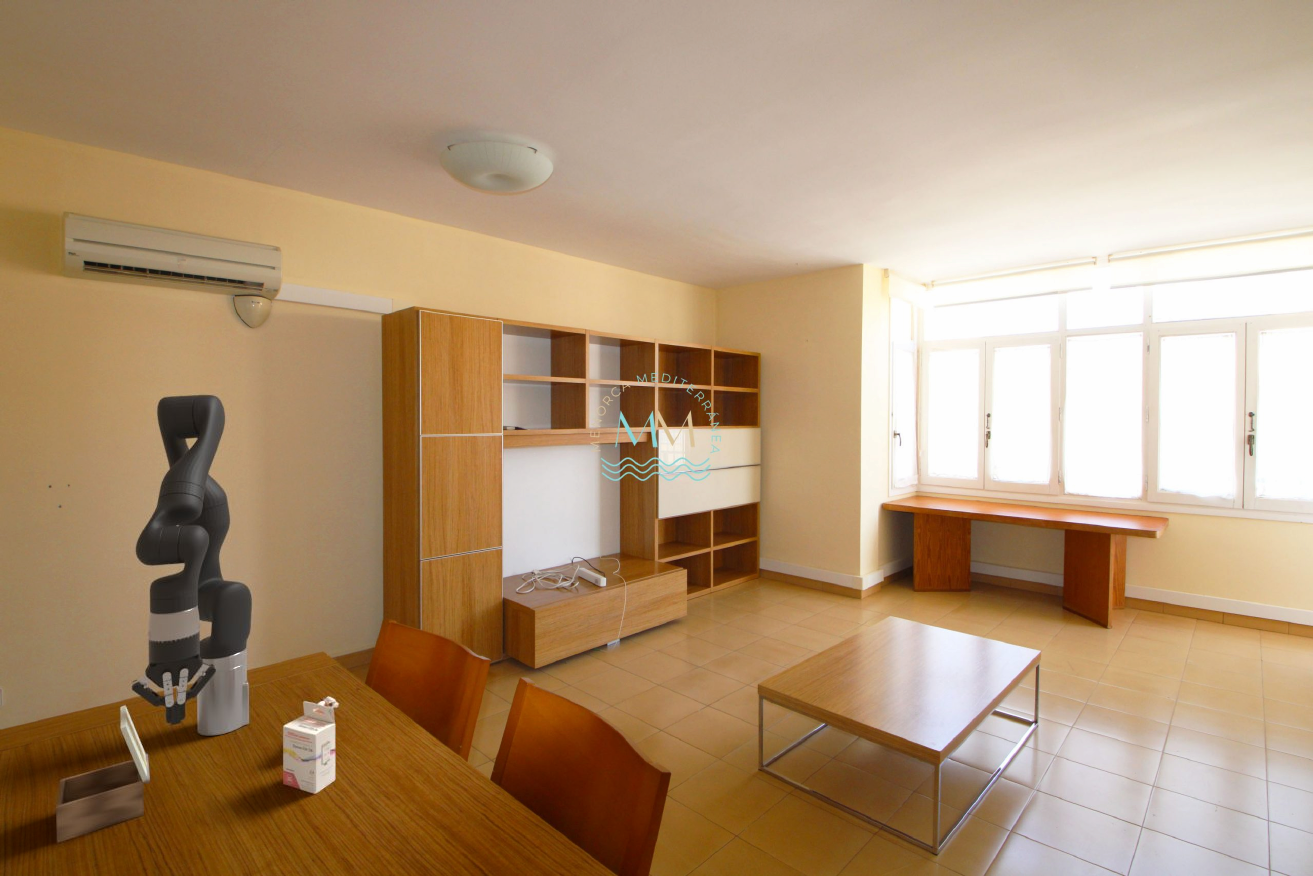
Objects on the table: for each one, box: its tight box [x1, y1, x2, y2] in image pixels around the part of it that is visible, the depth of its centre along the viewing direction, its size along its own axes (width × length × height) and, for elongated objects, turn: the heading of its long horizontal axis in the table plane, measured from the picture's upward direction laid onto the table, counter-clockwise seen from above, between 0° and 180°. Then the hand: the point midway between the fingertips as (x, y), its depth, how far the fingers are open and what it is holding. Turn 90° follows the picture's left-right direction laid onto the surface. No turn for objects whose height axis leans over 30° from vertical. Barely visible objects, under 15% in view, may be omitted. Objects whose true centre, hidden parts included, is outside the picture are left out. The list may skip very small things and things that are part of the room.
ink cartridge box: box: [282, 700, 336, 795], centre depth 118 cm, size 9×5×15 cm, turn 71°
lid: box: [119, 704, 151, 784], centre depth 111 cm, size 12×10×1 cm
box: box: [55, 759, 145, 844], centre depth 108 cm, size 11×10×6 cm
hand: (175, 722), depth 115 cm, fingers closed
